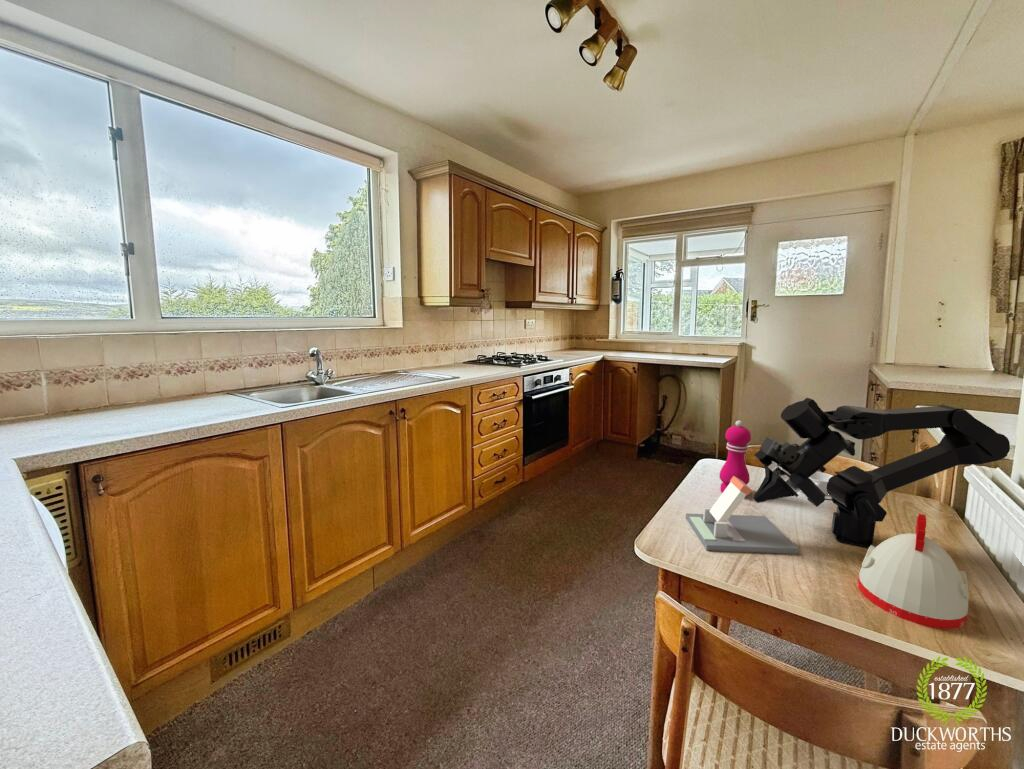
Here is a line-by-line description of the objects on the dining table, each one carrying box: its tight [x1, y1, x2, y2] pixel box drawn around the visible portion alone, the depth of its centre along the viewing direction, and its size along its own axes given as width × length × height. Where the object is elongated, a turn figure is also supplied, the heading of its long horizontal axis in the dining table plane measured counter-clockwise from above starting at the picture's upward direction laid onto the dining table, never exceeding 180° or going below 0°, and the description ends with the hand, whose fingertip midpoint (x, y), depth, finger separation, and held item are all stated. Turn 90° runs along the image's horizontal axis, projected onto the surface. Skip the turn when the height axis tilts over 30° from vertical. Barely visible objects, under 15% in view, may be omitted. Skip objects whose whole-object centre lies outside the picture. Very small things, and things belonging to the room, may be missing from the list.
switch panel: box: [685, 507, 799, 555], centre depth 96 cm, size 18×14×4 cm
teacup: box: [800, 471, 834, 500], centre depth 118 cm, size 10×10×5 cm
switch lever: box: [709, 476, 753, 522], centre depth 96 cm, size 2×5×10 cm, turn 178°
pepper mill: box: [718, 420, 752, 494], centre depth 117 cm, size 7×7×20 cm
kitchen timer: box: [857, 513, 970, 630], centre depth 74 cm, size 14×14×15 cm
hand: (754, 500), depth 95 cm, fingers closed
